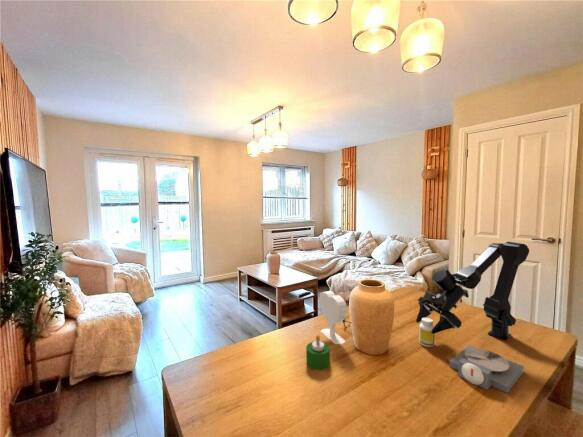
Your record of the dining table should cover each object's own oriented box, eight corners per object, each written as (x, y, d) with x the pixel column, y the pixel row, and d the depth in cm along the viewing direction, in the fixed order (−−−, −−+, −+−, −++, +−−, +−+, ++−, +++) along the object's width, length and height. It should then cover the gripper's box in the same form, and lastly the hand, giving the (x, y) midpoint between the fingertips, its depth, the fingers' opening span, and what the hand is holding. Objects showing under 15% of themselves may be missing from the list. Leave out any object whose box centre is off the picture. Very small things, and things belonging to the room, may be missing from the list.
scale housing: (469, 350, 101) (469, 334, 101) (523, 371, 88) (524, 354, 88) (444, 370, 90) (444, 353, 89) (502, 398, 77) (503, 379, 76)
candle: (332, 358, 97) (332, 332, 97) (325, 372, 90) (325, 343, 89) (311, 353, 101) (311, 327, 100) (303, 366, 93) (302, 338, 93)
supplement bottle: (436, 348, 103) (436, 323, 102) (421, 346, 104) (421, 322, 103) (431, 340, 108) (432, 317, 108) (417, 339, 109) (417, 316, 109)
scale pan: (473, 346, 98) (473, 344, 98) (514, 362, 88) (514, 360, 88) (458, 358, 91) (458, 356, 91) (501, 377, 81) (501, 375, 81)
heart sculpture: (348, 343, 107) (348, 299, 106) (337, 346, 105) (337, 301, 104) (328, 326, 121) (327, 287, 120) (318, 329, 119) (317, 289, 118)
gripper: (422, 277, 114) (397, 305, 113) (455, 292, 96) (427, 325, 95) (438, 294, 116) (414, 321, 115) (474, 312, 98) (446, 344, 97)
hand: (424, 327), depth 105 cm, fingers open, 9 cm apart
